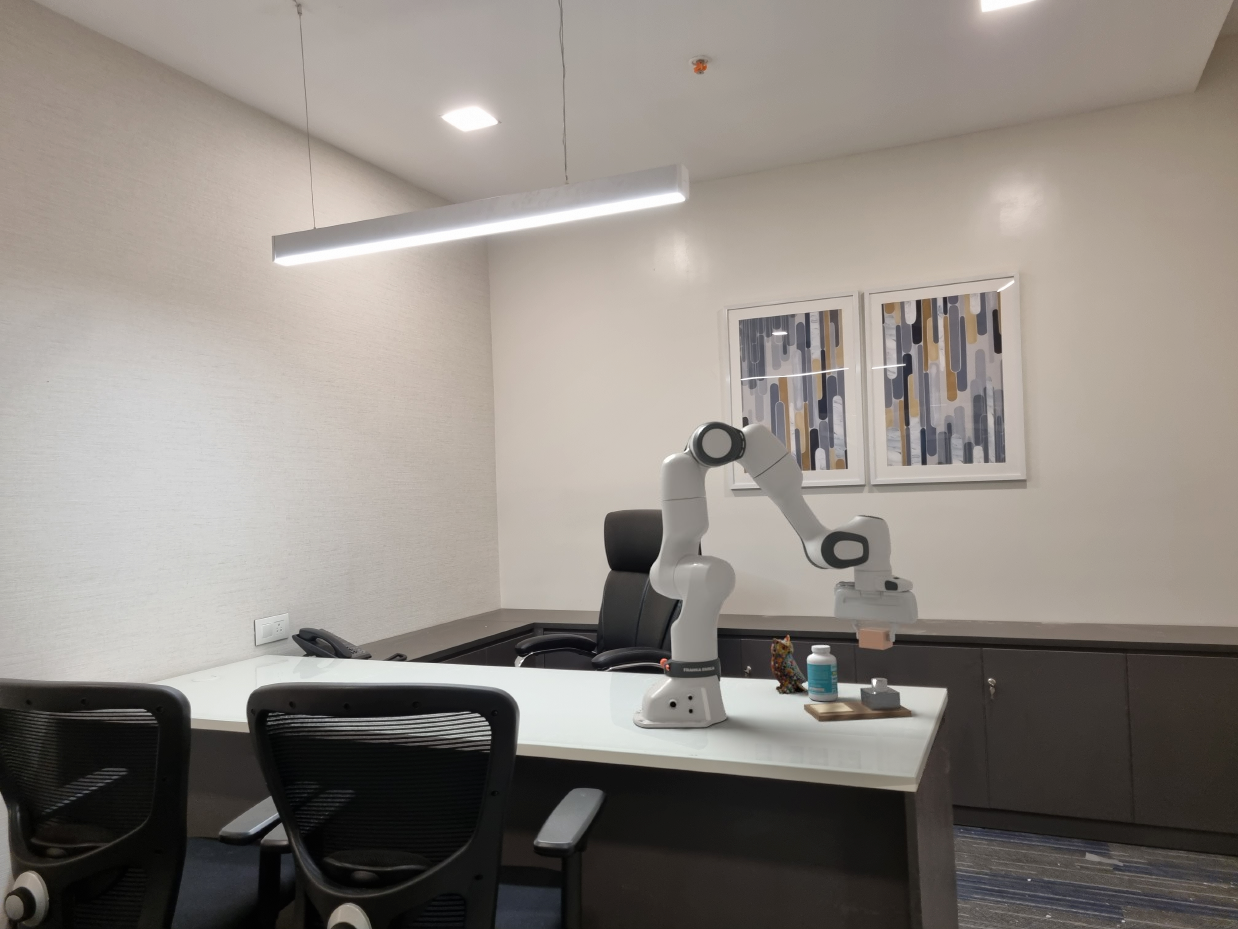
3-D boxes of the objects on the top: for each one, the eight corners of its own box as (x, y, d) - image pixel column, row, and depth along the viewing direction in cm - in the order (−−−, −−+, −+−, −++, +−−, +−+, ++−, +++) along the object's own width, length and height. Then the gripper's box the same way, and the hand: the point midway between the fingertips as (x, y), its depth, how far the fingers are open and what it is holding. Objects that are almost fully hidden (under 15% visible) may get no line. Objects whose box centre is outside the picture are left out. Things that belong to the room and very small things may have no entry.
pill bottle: (839, 702, 211) (836, 648, 211) (809, 702, 212) (806, 648, 213) (837, 696, 218) (834, 643, 219) (808, 695, 219) (805, 644, 220)
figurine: (802, 695, 220) (799, 638, 221) (768, 693, 224) (766, 637, 225) (809, 689, 228) (806, 633, 228) (777, 687, 231) (774, 633, 232)
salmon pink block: (859, 647, 200) (858, 629, 200) (868, 644, 205) (868, 626, 205) (883, 649, 197) (883, 632, 197) (892, 646, 201) (892, 629, 201)
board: (818, 721, 193) (818, 714, 193) (804, 709, 205) (803, 703, 205) (911, 716, 194) (911, 709, 194) (891, 704, 206) (891, 698, 206)
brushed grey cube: (871, 710, 196) (870, 683, 196) (861, 703, 203) (859, 677, 203) (900, 708, 196) (899, 681, 197) (889, 702, 203) (887, 675, 204)
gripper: (827, 581, 206) (829, 638, 205) (908, 584, 193) (911, 645, 192) (839, 580, 211) (841, 635, 210) (919, 582, 197) (922, 641, 196)
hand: (875, 640), depth 201 cm, fingers closed on salmon pink block, 6 cm apart
